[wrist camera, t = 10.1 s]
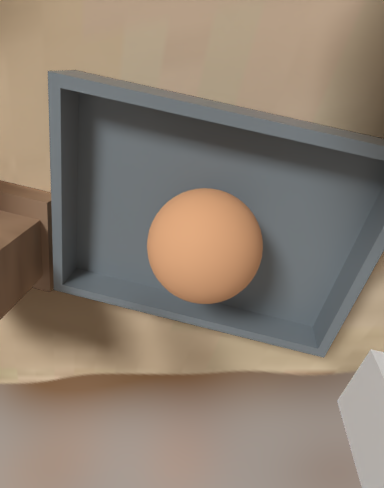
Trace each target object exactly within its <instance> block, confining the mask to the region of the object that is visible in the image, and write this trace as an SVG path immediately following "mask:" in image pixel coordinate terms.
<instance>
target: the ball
mask: <svg viewBox="0 0 384 488" xmlns="http://www.w3.org/2000/svg"><path fill="white" fill-rule="evenodd" d="M262 252H263V239H262V234H261V229H260V227H259V224H258V222H257V220H256V218H255V216H254V214H253V213H252V212H251V210H250V209H249V208H248V207H247V206H246V205H245V204H244V203H243V202H242V201H241V200H239V199H238V198H236V197H235V196H233V195H231V194H229V193H227V192H224V191H221V190H217V189H210V188H200V189H193V190H189V191H186V192H183V193H181V194H179V195H177V196H175V197H174V198H172V199H171V200H169V201H168V202H167V203H166V204H165V205H164V206H163V207H162V208H161V209H160V210H159V212H158V213H157V214H156V216H155V218H154V220H153V222H152V224H151V227H150V229H149V233H148V239H147V253H148V259H149V263H150V266H151V268H152V271H153V273H154V275H155V276H156V278H157V279H158V281H159V282H160V283H161V284H162V285H163V286H164V288H166V289H167V290H168V291H169V292H170V293H172V294H173V295H175V296H176V297H178V298H180V299H183V300H185V301H188V302H192V303H197V304H213V303H218V302H222V301H225V300H227V299H230V298H232V297H234V296H235V295H237V294H238V293H240V292H241V291H242V290H243V289H244V288H246V287H247V285H248V284H249V283H250V282H251V281H252V279H253V278H254V276H255V274H256V273H257V270H258V268H259V266H260V263H261V259H262Z"/></svg>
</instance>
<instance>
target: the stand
mask: <svg viewBox="0 0 384 488" xmlns="http://www.w3.org/2000/svg"><path fill="white" fill-rule="evenodd" d="M31 288H35V289H39V290H43V291H47V292H51V291H52V289H53V288H54V282H53V244H52V206H51V193H50V192H46V191H42V190H38V189H34V188H29V187H25V186H21V185H17V184H13V183H8V182H4V181H0V320H1V318H2V317H3V316H4V315H5V314H6V313H7V312H8V311H9V310H10V309H11V308H12V307H13V306H14V305H15V304H16V303H17V302H18V301H19V300H20V299H21V298H22V297H23V296H24V295H25V294H26V293H27V292H28V291H29V290H30V289H31Z"/></svg>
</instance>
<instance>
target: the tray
mask: <svg viewBox="0 0 384 488" xmlns="http://www.w3.org/2000/svg"><path fill="white" fill-rule="evenodd" d="M48 94H49V131H50V169H51V206H52V244H53V282H54V290H56V291H60V292H64V293H68V294H72V295H76V296H80V297H84V298H88V299H92V300H96V301H100V302H104V303H108V304H112V305H116V306H120V307H124V308H128V309H132V310H136V311H140V312H144V313H148V314H152V315H156V316H160V317H164V318H168V319H172V320H176V321H180V322H184V323H188V324H192V325H196V326H200V327H204V328H208V329H212V330H216V331H220V332H224V333H228V334H232V335H236V336H240V337H244V338H248V339H252V340H256V341H260V342H264V343H268V344H272V345H276V346H280V347H284V348H288V349H292V350H296V351H300V352H304V353H308V354H312V355H316V356H320V357H325V355H326V353H327V351H328V350H329V348H330V346H331V344H332V342H333V341H334V339H335V337H336V335H337V333H338V332H339V330H340V328H341V326H342V324H343V323H344V321H345V319H346V317H347V315H348V314H349V312H350V310H351V308H352V306H353V305H354V303H355V301H356V299H357V298H358V296H359V294H360V292H361V290H362V289H363V287H364V285H365V283H366V281H367V280H368V278H369V276H370V274H371V272H372V271H373V269H374V267H375V265H376V263H377V262H378V260H379V258H380V256H381V254H382V253H383V251H384V139H383V138H378V137H374V136H369V135H365V134H360V133H356V132H351V131H347V130H342V129H338V128H333V127H329V126H324V125H320V124H315V123H311V122H306V121H302V120H297V119H293V118H288V117H284V116H279V115H275V114H270V113H266V112H261V111H257V110H253V109H248V108H244V107H239V106H235V105H230V104H226V103H221V102H217V101H212V100H208V99H203V98H199V97H194V96H190V95H185V94H181V93H176V92H172V91H167V90H163V89H158V88H154V87H149V86H145V85H140V84H136V83H131V82H127V81H122V80H118V79H113V78H109V77H104V76H100V75H95V74H91V73H86V72H82V71H77V70H65V71H48ZM200 188H210V189H217V190H221V191H224V192H227V193H229V194H231V195H233V196H235V197H236V198H238V199H239V200H241V201H242V202H243V203H244V204H245V205H246V206H247V207H248V208H249V209H250V210H251V212H252V213H253V214H254V216H255V218H256V220H257V222H258V224H259V227H260V229H261V234H262V239H263V252H262V259H261V263H260V266H259V268H258V270H257V273H256V274H255V276H254V278H253V279H252V281H251V282H250V283H249V284H248V285H247V287H246V288H244V289H243V290H242V291H241V292H240V293H238V294H237V295H235V296H234V297H232V298H230V299H227V300H225V301H222V302H218V303H213V304H197V303H192V302H188V301H185V300H183V299H180V298H178V297H176V296H175V295H173V294H172V293H170V292H169V291H168V290H167V289H166V288H164V286H163V285H162V284H161V283H160V282H159V281H158V279H157V278H156V276H155V275H154V273H153V271H152V268H151V266H150V263H149V259H148V253H147V239H148V233H149V229H150V227H151V224H152V222H153V220H154V218H155V216H156V214H157V213H158V212H159V210H160V209H161V208H162V207H163V206H164V205H165V204H166V203H167V202H168V201H169V200H171V199H172V198H174V197H175V196H177V195H179V194H181V193H183V192H186V191H189V190H193V189H200Z"/></svg>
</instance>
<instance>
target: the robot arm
mask: <svg viewBox="0 0 384 488" xmlns="http://www.w3.org/2000/svg"><path fill="white" fill-rule="evenodd" d="M337 402H338V406H339V409H340V413H341V417H342V420H343V424H344V427H345V431H346V434H347V438H348V441H349V445H350V448H351V452H352V455H353V459H354V462H355V466H356V470H357V473H358V476H359V480H360V484H361V487H362V488H384V352H380V351H376V350H370V351H369V353H368V354H367V356H366V357H365V359H364V360H363V362H362V364H361V365H360V367H359V368H358V370H357V371H356V373H355V374H354V376H353V377H352V379H351V380H350V382H349V383H348V385H347V386H346V388H345V390H344V391H343V393H342V394H341V396H340V397H339V399H338V400H337Z"/></svg>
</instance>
